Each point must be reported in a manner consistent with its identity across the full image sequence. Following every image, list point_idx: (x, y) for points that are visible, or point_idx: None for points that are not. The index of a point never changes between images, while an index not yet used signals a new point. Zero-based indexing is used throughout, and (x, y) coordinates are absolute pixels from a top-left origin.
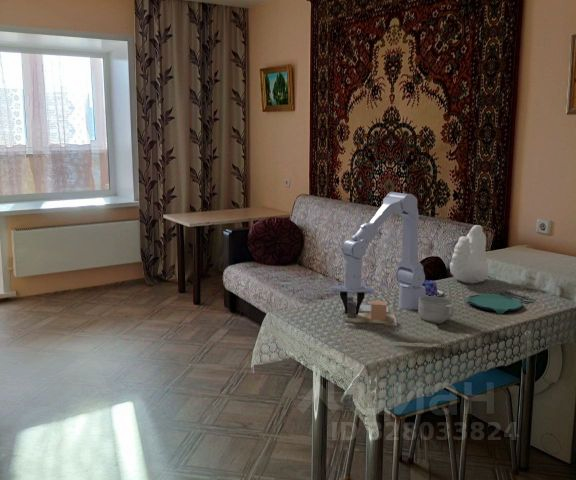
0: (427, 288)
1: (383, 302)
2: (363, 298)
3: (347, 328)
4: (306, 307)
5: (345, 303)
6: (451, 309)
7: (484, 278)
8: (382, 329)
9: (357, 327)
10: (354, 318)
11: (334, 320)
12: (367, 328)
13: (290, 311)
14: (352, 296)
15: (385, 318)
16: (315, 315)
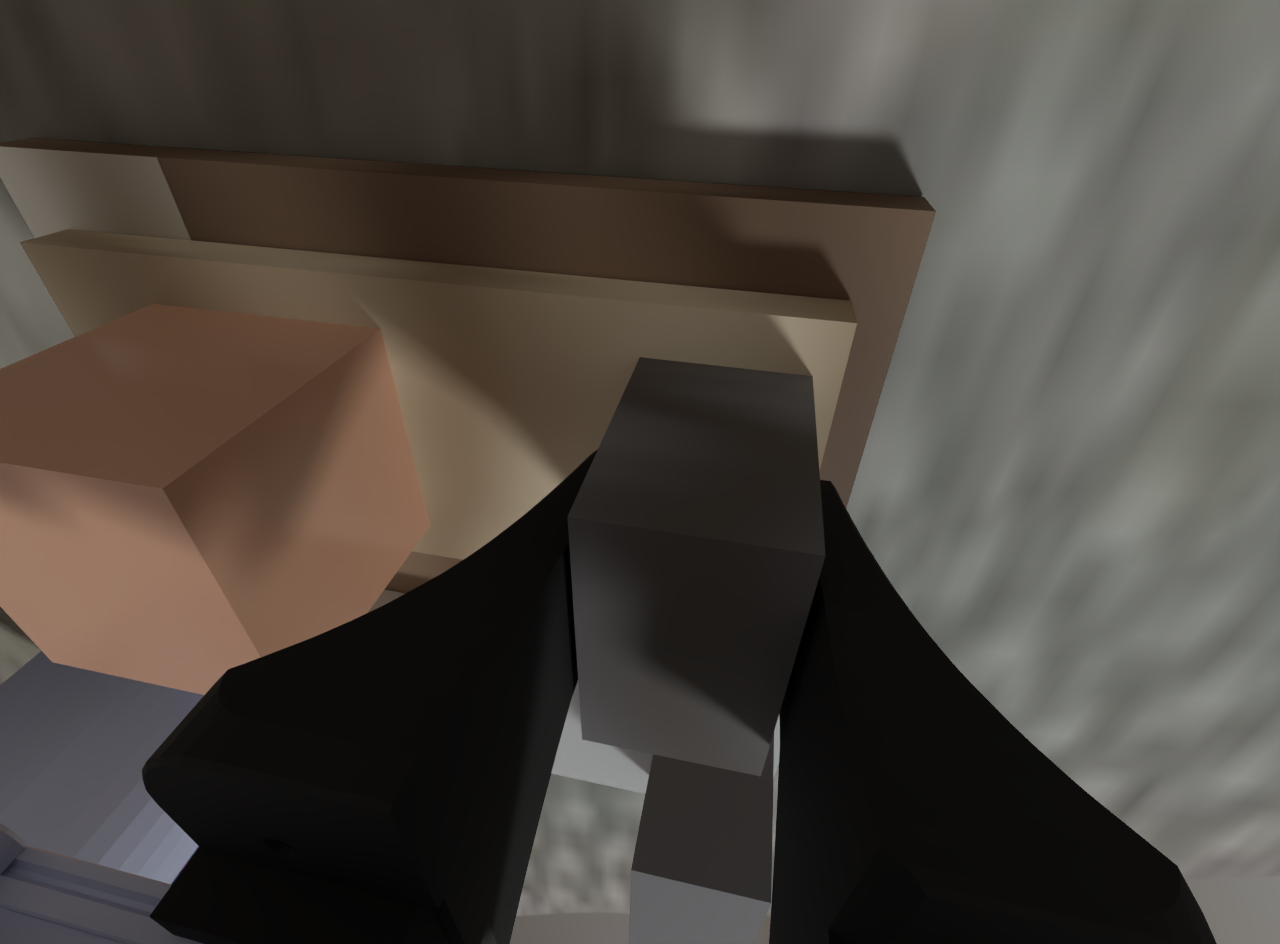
0: (173, 881)
1: (29, 603)
2: (234, 672)
3: (856, 38)
4: (1172, 852)
5: (878, 641)
6: None
7: None
8: (204, 51)
9: (639, 133)
10: (669, 349)
11: (982, 481)
12: (457, 86)
13: None
14: (643, 893)
15: (142, 310)
16: (1205, 666)
